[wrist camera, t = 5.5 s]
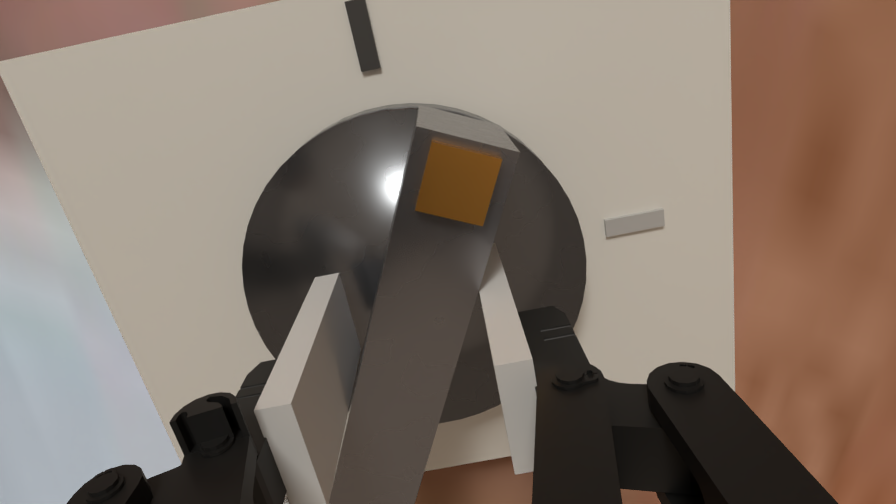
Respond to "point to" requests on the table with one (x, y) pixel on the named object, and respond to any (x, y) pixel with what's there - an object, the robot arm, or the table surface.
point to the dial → (410, 270)
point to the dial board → (379, 84)
